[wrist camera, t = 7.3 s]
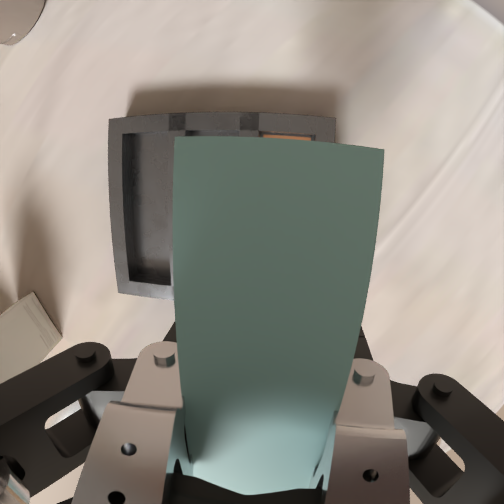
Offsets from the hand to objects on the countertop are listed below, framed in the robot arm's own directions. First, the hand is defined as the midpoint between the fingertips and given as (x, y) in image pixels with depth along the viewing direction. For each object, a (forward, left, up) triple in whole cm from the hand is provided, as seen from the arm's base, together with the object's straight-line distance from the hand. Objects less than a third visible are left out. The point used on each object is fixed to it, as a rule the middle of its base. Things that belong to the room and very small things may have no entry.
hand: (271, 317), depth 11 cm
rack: (0, -6, -19) cm, 19 cm away
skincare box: (+17, -33, -19) cm, 41 cm away
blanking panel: (+1, 0, -4) cm, 5 cm away
